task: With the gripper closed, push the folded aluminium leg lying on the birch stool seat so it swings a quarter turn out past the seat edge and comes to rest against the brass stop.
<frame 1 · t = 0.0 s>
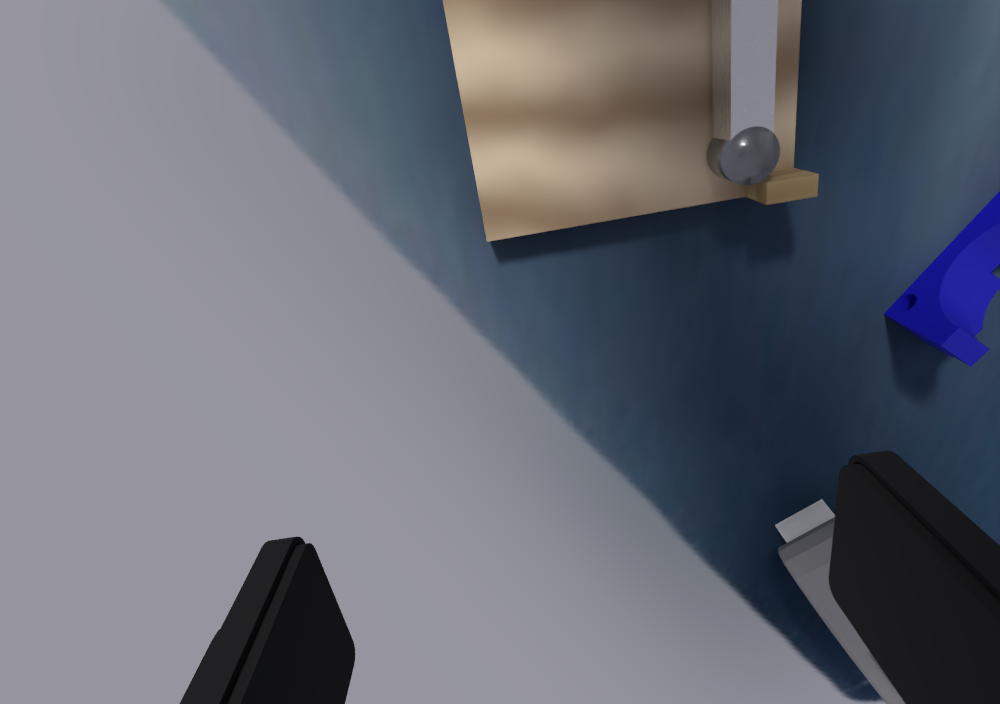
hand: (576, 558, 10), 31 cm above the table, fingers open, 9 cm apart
stool seat: (622, 99, 35), on the table
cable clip: (964, 260, 41), on the table
folding leg: (742, 62, 31), point 4 cm above the table, hinge at 90.0°
alarm clock: (835, 564, 53), on the table
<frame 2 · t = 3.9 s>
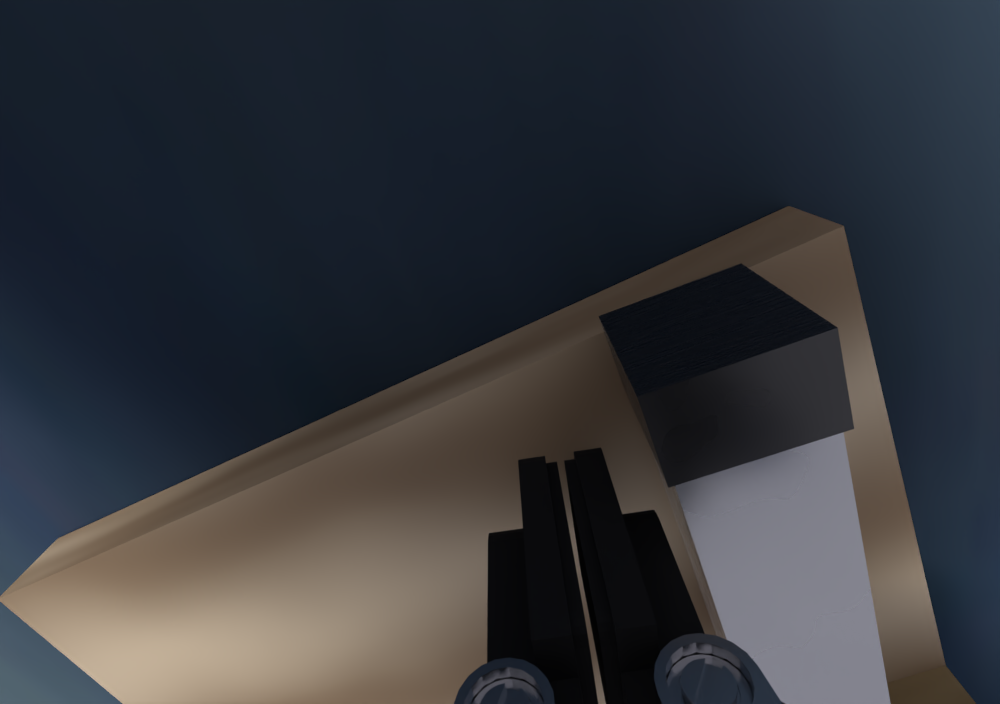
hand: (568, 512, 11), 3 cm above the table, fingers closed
stool seat: (503, 586, 16), on the table
folding leg: (774, 604, 11), point 4 cm above the table, hinge at 85.8°, touching gripper
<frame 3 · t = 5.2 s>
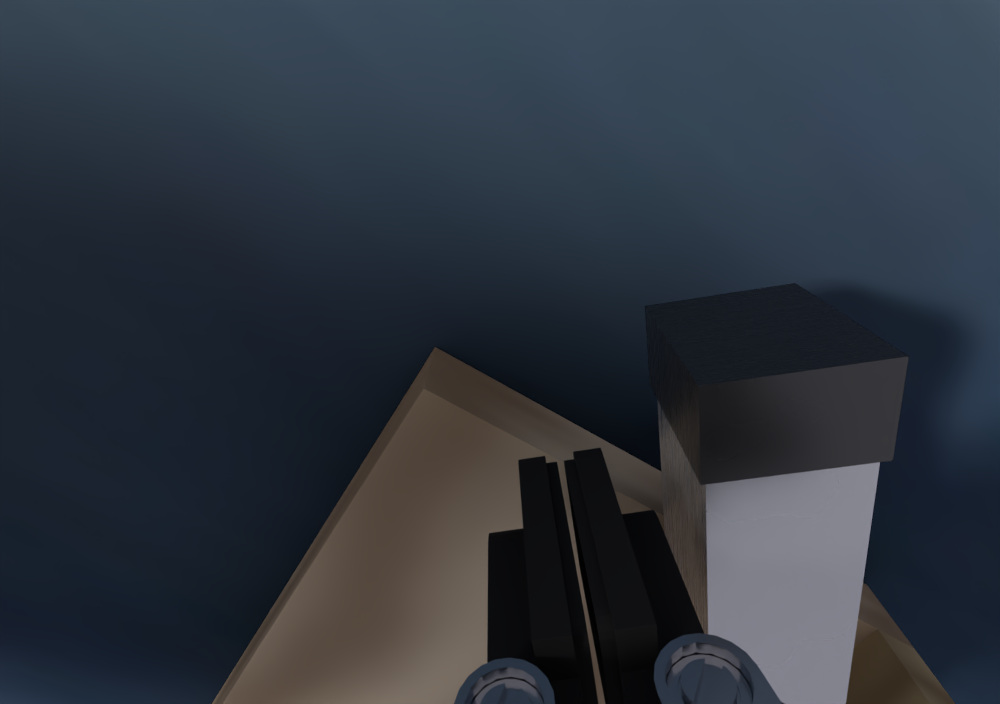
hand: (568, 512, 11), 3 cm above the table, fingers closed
stool seat: (474, 693, 18), on the table
folding leg: (746, 624, 11), point 4 cm above the table, hinge at 41.2°, touching gripper
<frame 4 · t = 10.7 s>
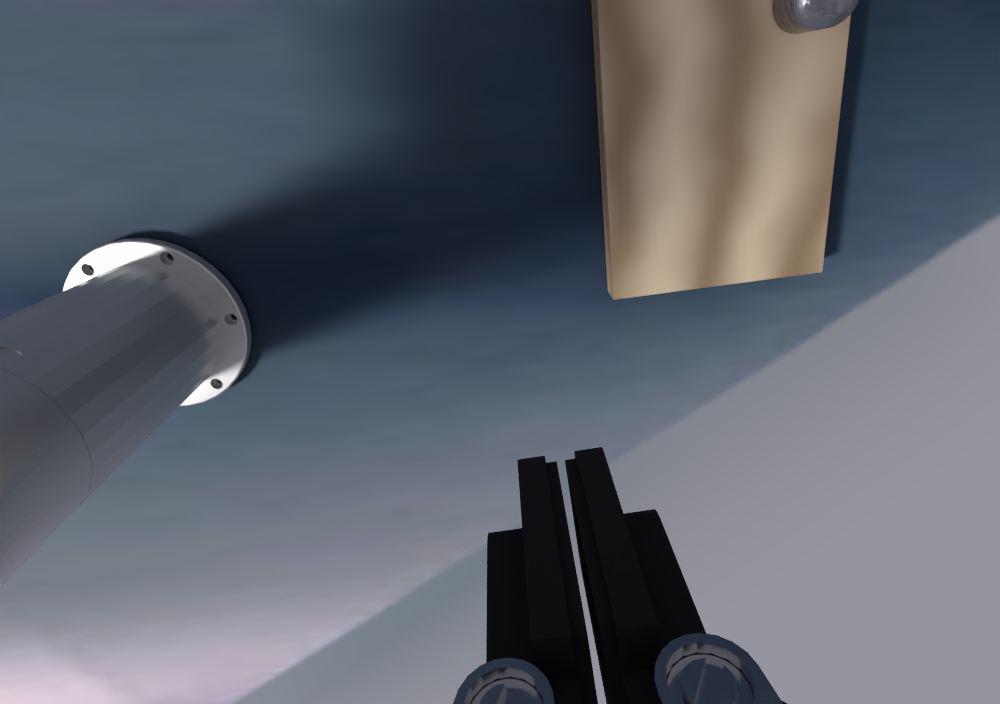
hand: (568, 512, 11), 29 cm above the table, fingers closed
stool seat: (709, 126, 35), on the table
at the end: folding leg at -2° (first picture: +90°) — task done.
